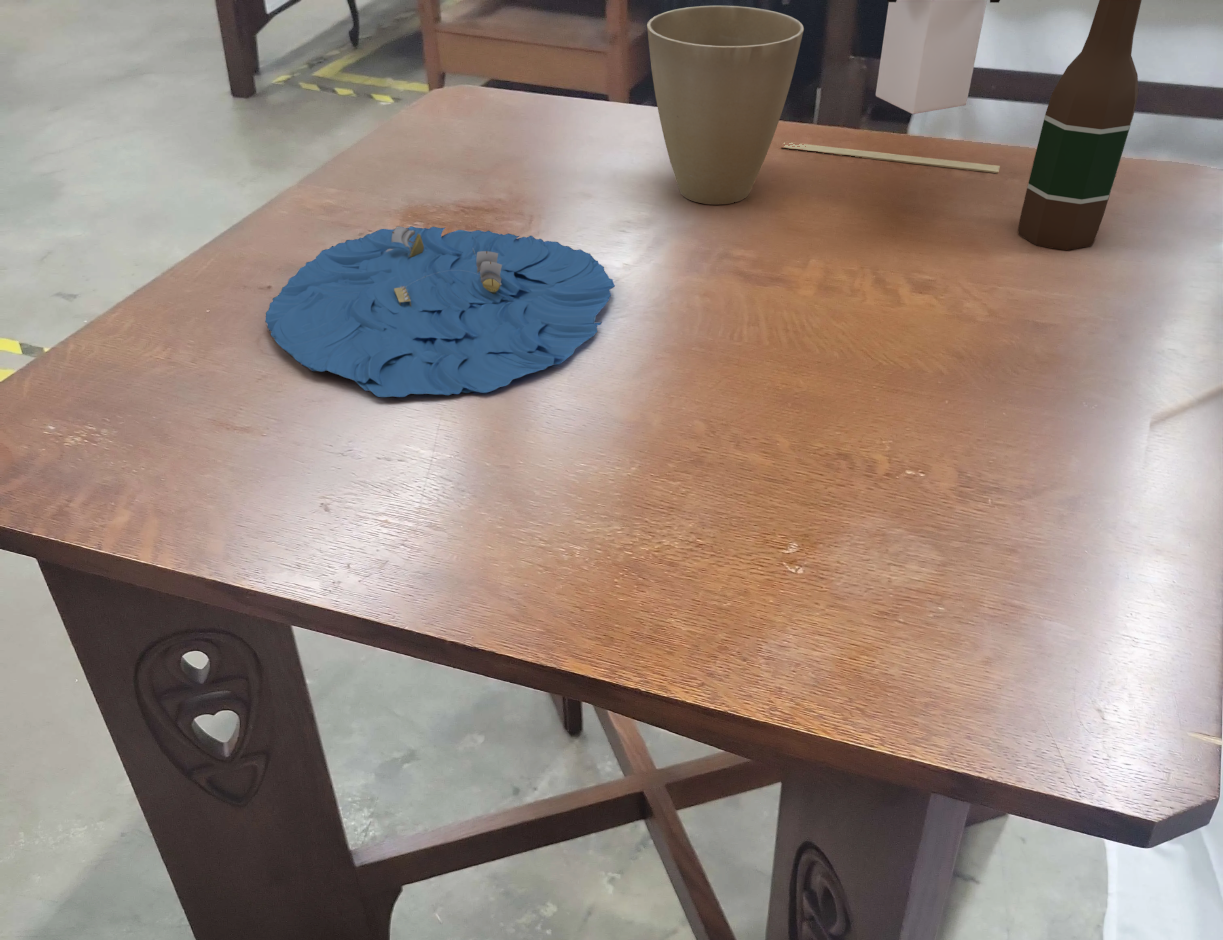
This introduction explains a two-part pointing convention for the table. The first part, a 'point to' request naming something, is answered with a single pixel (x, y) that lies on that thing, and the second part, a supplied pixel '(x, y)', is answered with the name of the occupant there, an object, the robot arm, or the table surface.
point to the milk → (929, 53)
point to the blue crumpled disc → (439, 309)
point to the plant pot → (721, 93)
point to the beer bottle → (1084, 134)
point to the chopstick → (899, 158)
